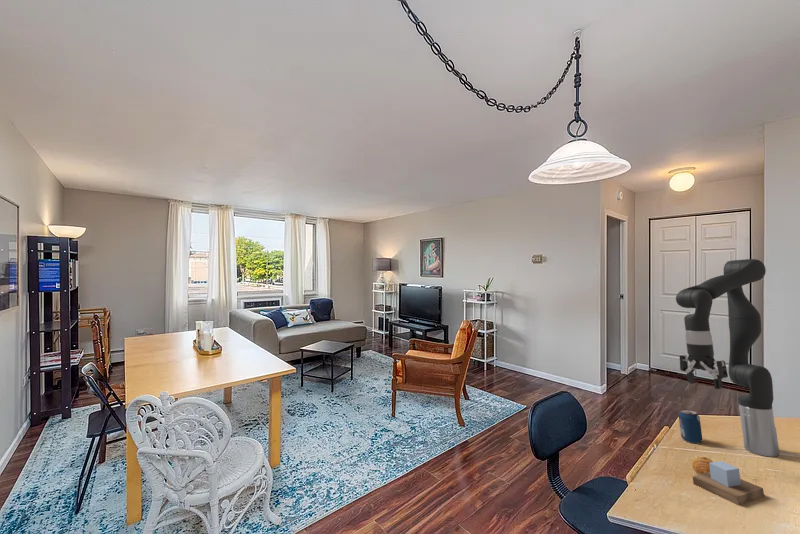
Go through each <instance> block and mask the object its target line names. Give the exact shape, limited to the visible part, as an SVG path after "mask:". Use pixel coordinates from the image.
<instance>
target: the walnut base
mask: <svg viewBox="0 0 800 534" xmlns="http://www.w3.org/2000/svg"><path fill="white" fill-rule="evenodd" d="M740 481H741V485H737V486H732V487H727V486H725V485H723V484H721V483H719V482H717V481H715V480H713V479H711V474H710V472H707V473H703V474H700V475H698V474H697V475H694V476H692V482H693V483H692V484H693V485H694V486H696V487H698V486H699V487H698V488H700V487H701V489H703V490H705V491H707V492H709V493H710V494H711V493H712V494H713V495H715V496H717V495H718V496H717V497H720V498H722V499H724V500H726V501H728V502H730V503H733V504H735V505H736V506H740V505H743V504H746V503H749V502H752V501H755V500H758V499H760V498H763V497H765V493H764V488H763V487H761V486H759V485H757V484H753V483H752V482H749V481H746V480H744V479H741V478H740Z"/></svg>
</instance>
